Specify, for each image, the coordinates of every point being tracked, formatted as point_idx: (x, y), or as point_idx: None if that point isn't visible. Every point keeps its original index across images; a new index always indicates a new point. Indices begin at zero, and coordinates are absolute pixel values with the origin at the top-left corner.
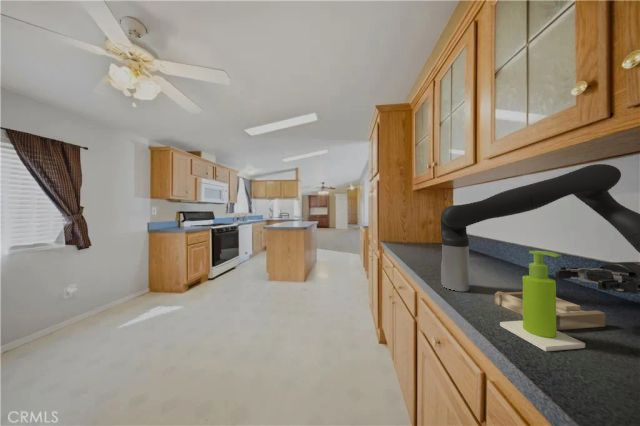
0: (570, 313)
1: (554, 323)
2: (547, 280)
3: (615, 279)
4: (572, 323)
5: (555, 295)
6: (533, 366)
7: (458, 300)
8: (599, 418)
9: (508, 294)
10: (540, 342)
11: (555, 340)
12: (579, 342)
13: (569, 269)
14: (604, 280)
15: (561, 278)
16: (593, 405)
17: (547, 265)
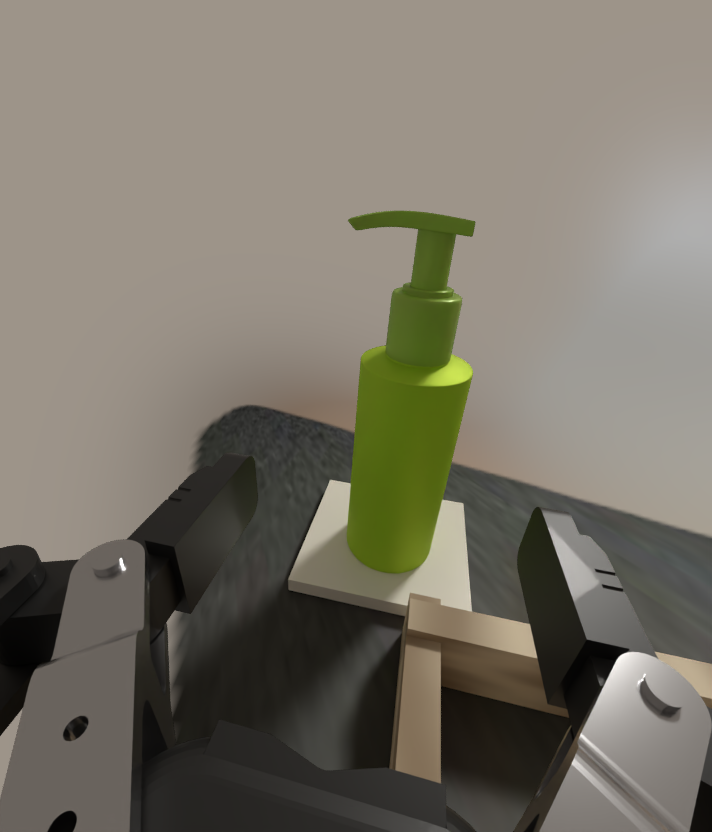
0: (424, 763)
1: (349, 499)
2: (376, 351)
3: (141, 548)
4: (392, 751)
5: (357, 418)
6: (314, 438)
7: (702, 568)
8: (227, 414)
9: None
10: (346, 487)
11: (337, 525)
12: (299, 570)
13: (635, 670)
14: (220, 461)
15: (521, 579)
16: (234, 425)
17: (399, 294)
